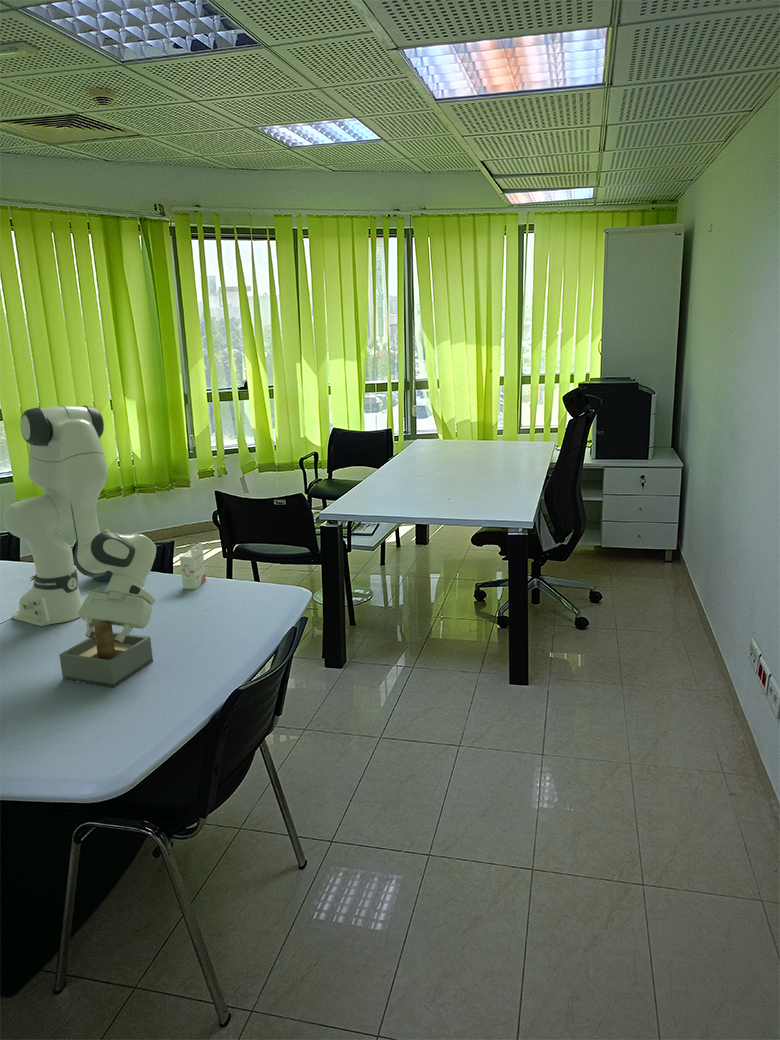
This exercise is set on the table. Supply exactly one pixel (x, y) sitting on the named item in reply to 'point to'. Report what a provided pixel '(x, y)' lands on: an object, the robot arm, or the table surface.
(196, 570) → the ink cartridge box
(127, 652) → the bore box
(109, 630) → the peg
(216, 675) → the table surface
